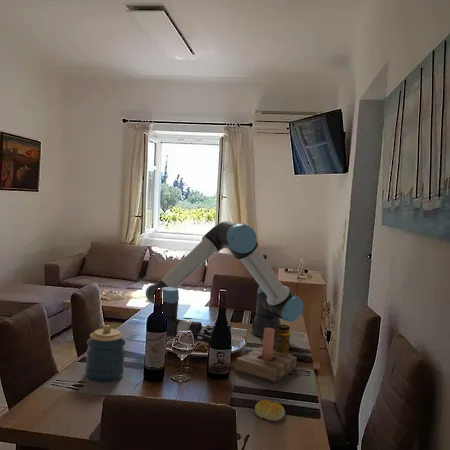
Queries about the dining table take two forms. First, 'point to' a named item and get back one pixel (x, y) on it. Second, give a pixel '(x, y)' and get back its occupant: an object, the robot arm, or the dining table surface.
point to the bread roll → (269, 410)
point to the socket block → (266, 365)
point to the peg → (268, 344)
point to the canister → (105, 355)
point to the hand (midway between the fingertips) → (243, 338)
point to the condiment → (282, 339)
